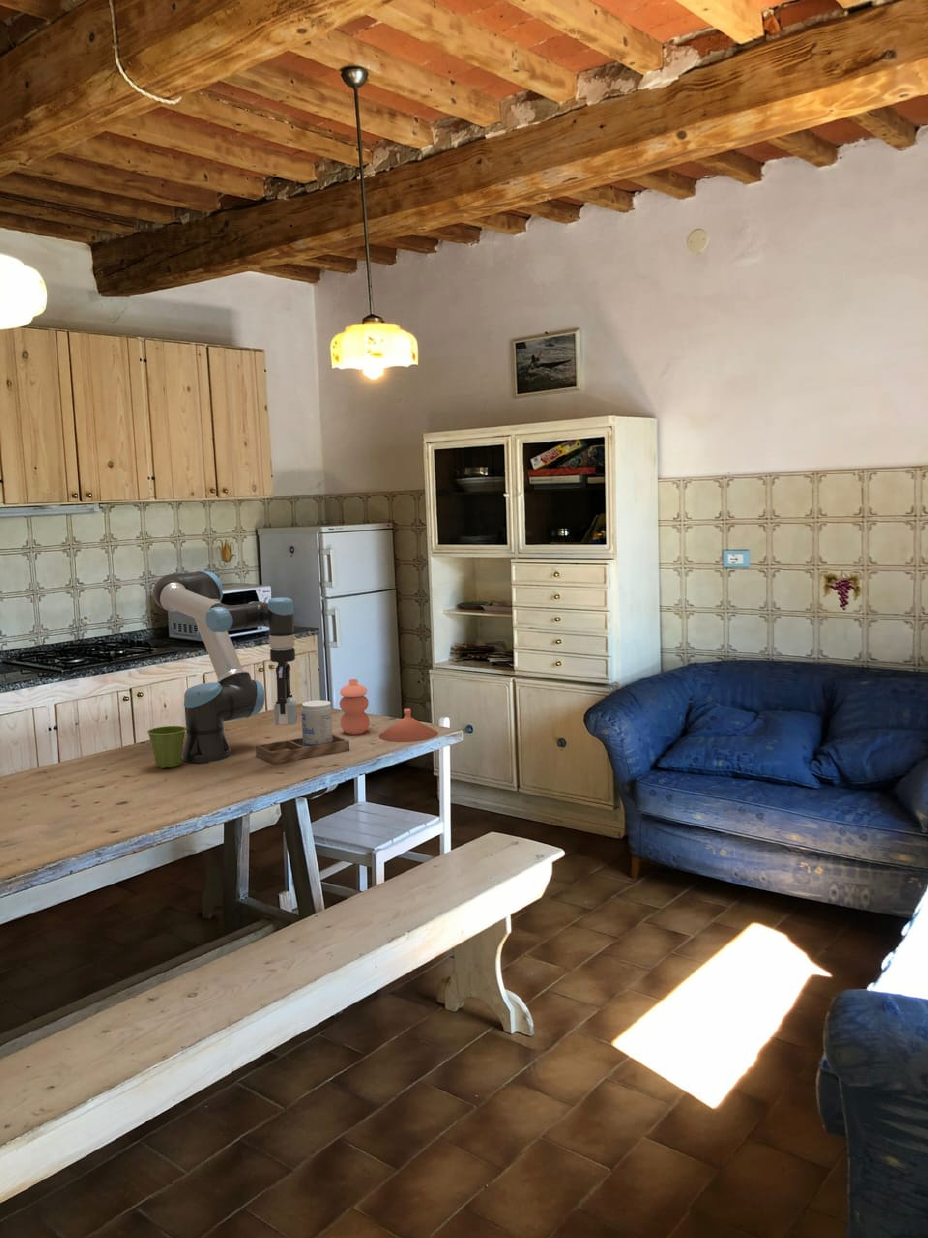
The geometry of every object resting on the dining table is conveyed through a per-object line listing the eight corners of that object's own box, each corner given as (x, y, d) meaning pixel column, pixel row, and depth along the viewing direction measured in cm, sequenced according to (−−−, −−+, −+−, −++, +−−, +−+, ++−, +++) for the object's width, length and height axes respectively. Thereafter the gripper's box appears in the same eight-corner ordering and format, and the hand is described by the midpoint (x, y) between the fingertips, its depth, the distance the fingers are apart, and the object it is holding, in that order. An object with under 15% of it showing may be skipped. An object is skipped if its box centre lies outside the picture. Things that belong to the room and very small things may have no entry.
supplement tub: (297, 749, 322) (294, 704, 320) (315, 743, 330) (312, 699, 328) (321, 752, 317) (319, 707, 315) (339, 745, 325) (336, 701, 323)
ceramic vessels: (447, 729, 348) (445, 676, 345) (427, 744, 328) (425, 687, 325) (354, 726, 358) (351, 674, 356) (329, 740, 338) (326, 685, 336)
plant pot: (177, 770, 304) (175, 734, 303) (141, 770, 306) (139, 734, 305) (195, 760, 316) (193, 725, 314) (161, 760, 318) (158, 725, 317)
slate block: (295, 724, 308) (293, 705, 308) (275, 725, 308) (274, 706, 307) (296, 719, 314) (295, 701, 314) (277, 720, 314) (276, 701, 313)
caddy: (273, 764, 308) (272, 753, 307) (256, 755, 319) (255, 745, 319) (349, 750, 322) (348, 740, 321) (330, 742, 333) (329, 733, 333)
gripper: (291, 653, 299) (293, 728, 302) (297, 642, 318) (300, 714, 321) (265, 653, 298) (268, 729, 302) (273, 643, 317) (276, 714, 320)
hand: (284, 721), depth 311 cm, fingers closed on slate block, 6 cm apart
